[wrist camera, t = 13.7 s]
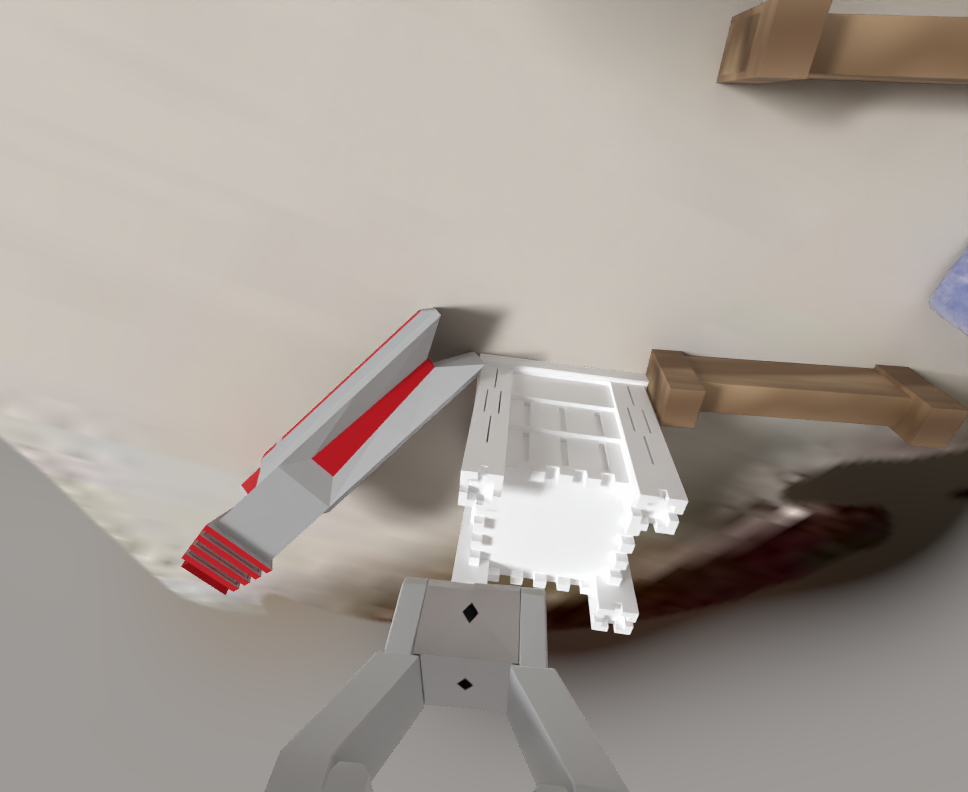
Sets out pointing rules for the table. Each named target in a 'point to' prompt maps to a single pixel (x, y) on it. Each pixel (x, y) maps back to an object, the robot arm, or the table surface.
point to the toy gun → (331, 452)
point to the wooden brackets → (805, 387)
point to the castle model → (563, 481)
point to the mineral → (953, 295)
